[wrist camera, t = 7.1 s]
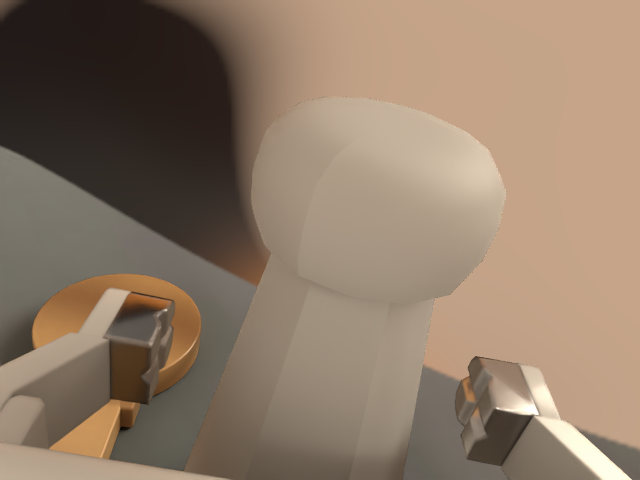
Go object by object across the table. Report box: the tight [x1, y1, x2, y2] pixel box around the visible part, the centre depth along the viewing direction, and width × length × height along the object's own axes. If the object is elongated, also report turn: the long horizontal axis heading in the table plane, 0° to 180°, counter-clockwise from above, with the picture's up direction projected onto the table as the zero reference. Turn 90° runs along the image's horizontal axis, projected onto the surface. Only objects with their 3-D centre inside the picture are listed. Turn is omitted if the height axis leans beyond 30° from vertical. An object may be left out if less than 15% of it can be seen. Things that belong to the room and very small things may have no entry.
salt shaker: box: [183, 97, 506, 480], centre depth 12 cm, size 6×6×13 cm
